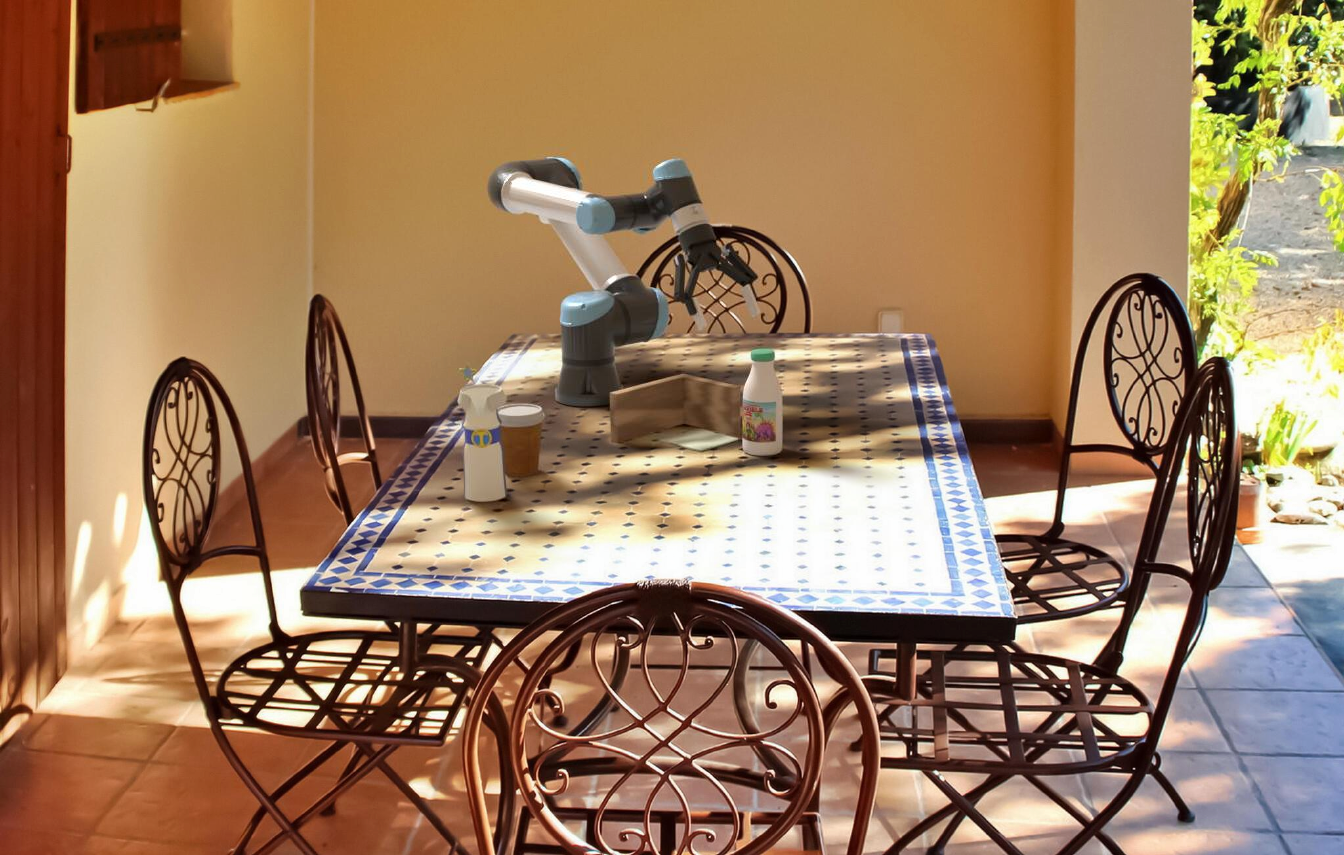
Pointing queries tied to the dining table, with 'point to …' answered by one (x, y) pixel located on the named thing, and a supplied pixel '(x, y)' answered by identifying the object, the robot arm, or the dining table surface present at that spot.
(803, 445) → the dining table surface
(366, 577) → the dining table surface
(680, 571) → the dining table surface
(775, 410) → the milk bottle
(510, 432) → the disposable coffee cup
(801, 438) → the dining table surface
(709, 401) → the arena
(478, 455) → the white tall bottle shape
